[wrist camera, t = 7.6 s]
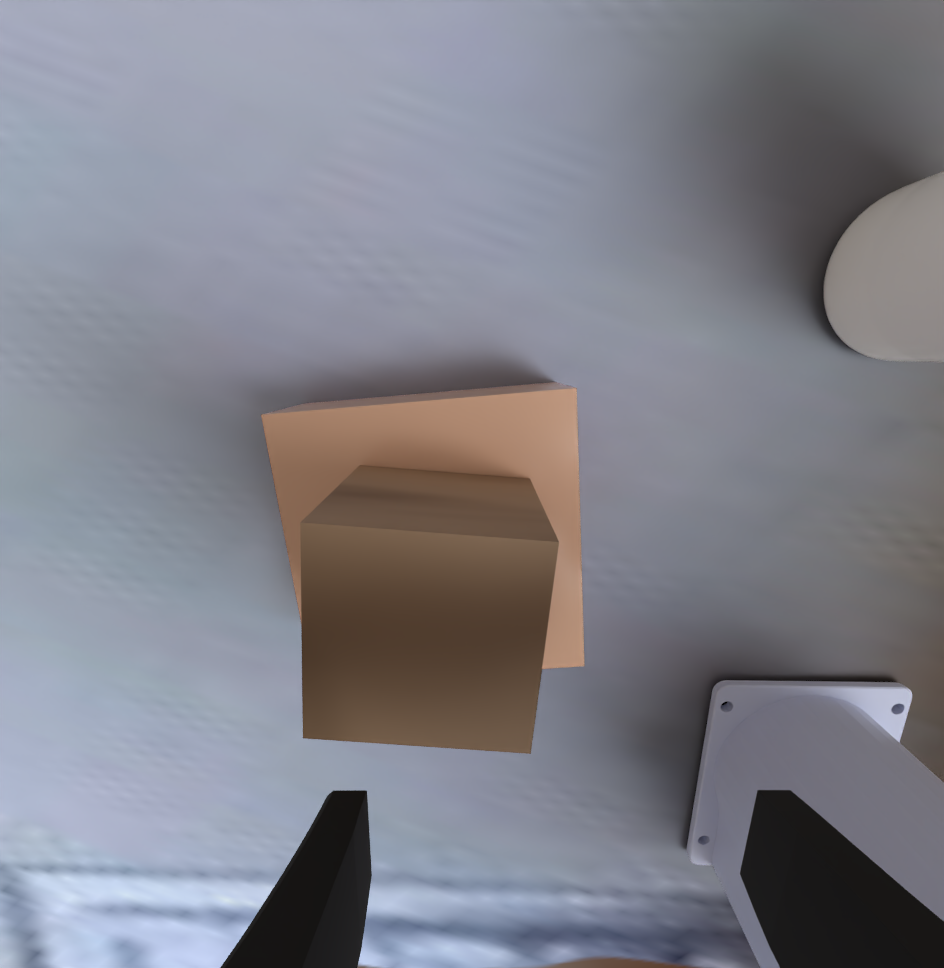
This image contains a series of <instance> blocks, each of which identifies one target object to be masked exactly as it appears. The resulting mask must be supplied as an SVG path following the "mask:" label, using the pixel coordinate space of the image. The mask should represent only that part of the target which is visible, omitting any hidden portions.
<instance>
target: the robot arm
mask: <svg viewBox="0 0 944 968" xmlns="http://www.w3.org/2000/svg"><path fill="white" fill-rule="evenodd" d="M911 700H912V692H911V690H909V689H908V688H907V687H905V686H904V685H903V684H901V683H897V682H830V681H750V680H724V681H720V682H718V683H717V684H716V685H715V686H714V688H713V690H712V696H711V702H710V708H709V714H708V720H707V726H706V733H705V739H704V745H703V751H702V757H701V763H700V769H699V776H698V782H697V788H696V794H695V800H694V806H693V812H692V819H691V825H690V831H689V837H688V843H687V849H686V850H687V855H688V857H689V859H690V861H691V862H692V863H694V864H696V865H713V868H714V870H715V872H716V874H717V876H718V878H719V880H720V882H721V885H722V887H723V889H724V891H725V893H726V895H727V897H728V899H729V902H730V904H731V906H732V908H733V910H734V912H735V914H736V916H737V919H738V921H739V923H740V925H741V927H742V929H743V931H744V933H745V936H746V938H747V940H748V942H749V944H750V946H751V948H752V950H753V953H754V955H755V957H756V959H757V961H758V963H759V965H760V967H761V968H944V782H942V781H941V780H940V779H939V778H938V777H937V776H936V775H935V774H934V773H932V772H931V771H930V770H929V769H928V768H927V767H926V766H925V765H924V764H923V763H921V762H920V761H919V760H918V759H917V758H916V757H915V756H914V755H913V754H911V753H910V752H909V751H908V750H907V749H906V748H905V747H904V746H903V745H901V744H900V743H899V742H900V738H901V735H902V731H903V728H904V724H905V721H906V717H907V714H908V711H909V707H910V704H911ZM727 701H728V702H727ZM724 702H727V703H726V704H725V705H722V706H721V704H722V703H724ZM371 876H372V874H371V856H370V838H369V821H368V803H367V791H333V792H331V793H330V794H329V795H328V796H327V798H326V800H325V802H324V803H323V805H322V807H321V809H320V811H319V813H318V815H317V816H316V818H315V820H314V822H313V824H312V825H311V827H310V829H309V831H308V832H307V834H306V836H305V838H304V839H303V841H302V843H301V844H300V846H299V848H298V849H297V851H296V853H295V854H294V856H293V858H292V859H291V861H290V863H289V864H288V866H287V868H286V869H285V871H284V873H283V874H282V876H281V877H280V879H279V881H278V882H277V884H276V885H275V887H274V888H273V890H272V891H271V893H270V895H269V896H268V898H267V899H266V901H265V902H264V904H263V905H262V907H261V909H260V910H259V912H258V913H257V915H256V916H255V918H254V919H253V921H252V923H251V924H250V926H249V927H248V929H247V930H246V932H245V933H244V935H243V936H242V938H241V939H240V940H239V942H238V943H237V945H236V946H235V948H234V949H233V951H232V952H231V953H230V955H229V956H228V958H227V959H226V961H225V962H224V963H223V965H222V966H221V968H357V966H358V961H359V957H360V952H361V947H362V940H363V933H364V926H365V919H366V912H367V905H368V898H369V890H370V883H371Z"/></svg>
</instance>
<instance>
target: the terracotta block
mask: <svg viewBox="0 0 944 968" xmlns="http://www.w3.org/2000/svg"><path fill="white" fill-rule="evenodd" d="M261 417H262V422H263V427H264V432H265V438H266V443H267V448H268V453H269V458H270V464H271V469H272V474H273V479H274V484H275V489H276V495H277V500H278V505H279V510H280V515H281V520H282V526H283V531H284V536H285V541H286V546H287V552H288V557H289V562H290V567H291V572H292V577H293V583H294V588H295V593H296V598H297V603H298V608H299V614H300V619H301V542H300V522H301V521H302V520H303V519H304V518H305V517H307V516H308V515H309V514H310V513H311V512H312V511H313V510H314V509H315V508H316V507H317V506H318V505H319V504H320V503H321V502H322V501H323V500H324V499H325V498H326V497H327V496H328V495H329V494H330V493H331V492H332V491H333V490H334V489H336V488H337V487H338V486H339V485H340V484H341V483H342V482H343V481H344V480H345V479H346V478H347V477H348V476H349V475H350V474H351V473H352V472H353V471H354V470H355V469H356V468H357V467H358V466H359V465H363V466H376V467H389V468H402V469H414V470H427V471H440V472H453V473H466V474H478V475H491V476H504V477H517V478H530V480H531V482H532V484H533V486H534V489H535V491H536V493H537V495H538V497H539V499H540V502H541V504H542V506H543V508H544V510H545V513H546V515H547V517H548V519H549V521H550V523H551V526H552V528H553V530H554V532H555V534H556V536H557V539H558V541H559V547H558V554H557V562H556V569H555V576H554V584H553V591H552V599H551V606H550V613H549V621H548V628H547V636H546V643H545V650H544V658H543V665H542V669H550V668H564V667H578V666H584V634H583V599H582V564H581V529H580V494H579V459H578V424H577V389H576V388H575V387H571V386H568V385H564V384H561V383H557V382H549V383H538V384H526V385H514V386H502V387H491V388H479V389H467V390H455V391H443V392H432V393H420V394H408V395H396V396H385V397H373V398H361V399H349V400H338V401H326V402H314V403H303V404H300V405H296V406H292V407H288V408H285V409H281V410H277V411H273V412H270V413H266V414H262V415H261ZM301 624H302V620H301Z"/></svg>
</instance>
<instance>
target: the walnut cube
mask: <svg viewBox="0 0 944 968" xmlns="http://www.w3.org/2000/svg"><path fill="white" fill-rule="evenodd" d="M300 542H301V620H302V697H303V738H308V739H323V740H338V741H352V742H367V743H382V744H397V745H411V746H426V747H441V748H455V749H470V750H485V751H500V752H514V753H529V754H531V747H532V739H533V732H534V724H535V717H536V710H537V702H538V695H539V687H540V680H541V673H542V665H543V658H544V650H545V643H546V636H547V628H548V621H549V613H550V606H551V599H552V591H553V584H554V576H555V569H556V562H557V554H558V547H559V541H558V539H557V536H556V534H555V532H554V530H553V528H552V526H551V523H550V521H549V519H548V517H547V515H546V513H545V510H544V508H543V506H542V504H541V502H540V499H539V497H538V495H537V493H536V491H535V489H534V486H533V484H532V482H531V480H530V478H517V477H504V476H491V475H478V474H466V473H453V472H440V471H427V470H414V469H402V468H389V467H376V466H363V465H359V466H358V467H357V468H356V469H355V470H354V471H353V472H352V473H351V474H350V475H349V476H348V477H347V478H346V479H345V480H344V481H343V482H342V483H341V484H340V485H339V486H338V487H337V488H336V489H334V490H333V491H332V492H331V493H330V494H329V495H328V496H327V497H326V498H325V499H324V500H323V501H322V502H321V503H320V504H319V505H318V506H317V507H316V508H315V509H314V510H313V511H312V512H311V513H310V514H309V515H308V516H307V517H305V518H304V519H303V520H302V521H301V522H300Z"/></svg>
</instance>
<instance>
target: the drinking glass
mask: <svg viewBox="0 0 944 968" xmlns="http://www.w3.org/2000/svg"><path fill="white" fill-rule="evenodd" d="M823 297H824V306H825V310H826V314H827V317H828V320H829V322H830V324H831V326H832V328H833V330H834V331H835V333H836V334H837V335H838V337H839V338H840V339H841V340H842V341H843V342H844V343H845V344H846V345H848V346H849V347H850V348H852V349H853V350H855V351H856V352H858V353H861V354H863V355H865V356H868V357H871V358H874V359H879V360H885V361H902V362H941V363H944V171H942V172H939V173H937V174H934V175H932V176H929V177H926V178H924V179H921V180H919V181H916V182H914V183H911V184H909V185H907V186H904V187H902V188H900V189H897V190H895V191H893V192H891V193H889V194H888V195H886V196H884V197H882V198H881V199H879V200H878V201H876V202H875V203H873V204H872V205H871V206H869V207H868V208H867V209H866V210H864V211H863V212H862V213H861V214H860V215H859V216H858V217H857V218H856V219H855V220H854V221H853V222H852V223H851V225H850V226H849V227H848V228H847V230H846V231H845V232H844V233H843V235H842V236H841V238H840V240H839V241H838V243H837V245H836V247H835V248H834V251H833V253H832V255H831V257H830V260H829V263H828V266H827V269H826V273H825V279H824V288H823Z"/></svg>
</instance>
